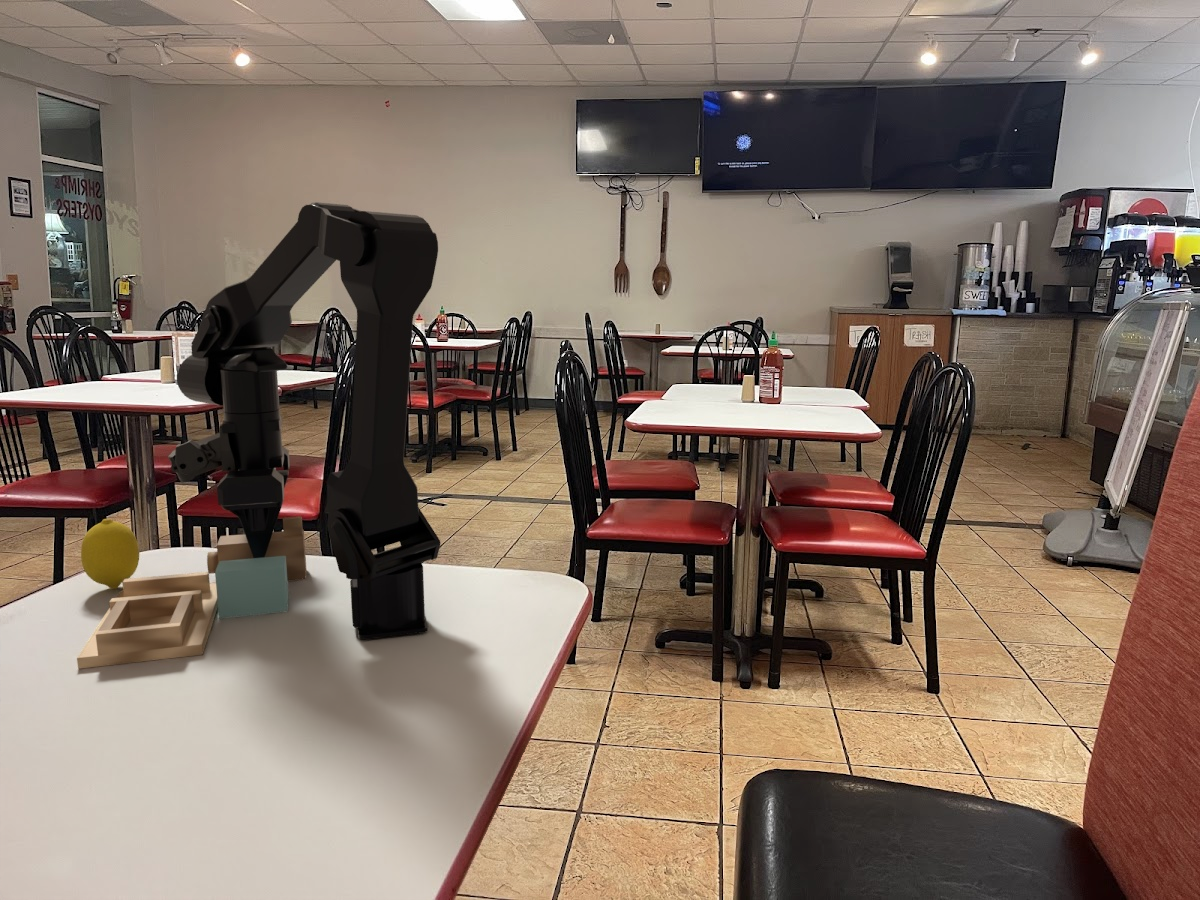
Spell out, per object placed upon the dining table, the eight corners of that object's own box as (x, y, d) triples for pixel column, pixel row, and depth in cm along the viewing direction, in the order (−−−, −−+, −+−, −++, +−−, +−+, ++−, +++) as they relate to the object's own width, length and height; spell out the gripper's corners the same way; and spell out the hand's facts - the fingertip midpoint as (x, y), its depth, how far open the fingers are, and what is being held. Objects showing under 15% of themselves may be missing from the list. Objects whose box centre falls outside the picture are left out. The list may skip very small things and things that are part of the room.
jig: (223, 590, 94) (221, 564, 93) (202, 654, 78) (199, 623, 77) (121, 599, 91) (118, 573, 90) (78, 668, 75) (74, 636, 74)
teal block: (223, 606, 89) (219, 561, 88) (288, 600, 91) (285, 555, 90) (219, 619, 86) (215, 572, 85) (287, 612, 88) (284, 566, 87)
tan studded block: (306, 570, 101) (302, 513, 99) (305, 580, 97) (302, 521, 96) (212, 578, 98) (207, 520, 96) (208, 589, 94) (203, 528, 93)
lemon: (125, 598, 91) (117, 526, 90) (74, 597, 91) (65, 525, 90) (152, 580, 97) (145, 512, 95) (104, 579, 97) (96, 511, 95)
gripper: (184, 401, 100) (196, 529, 103) (154, 427, 83) (169, 580, 86) (285, 398, 103) (293, 521, 106) (277, 422, 86) (287, 569, 89)
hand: (262, 546), depth 97 cm, fingers open, 9 cm apart
